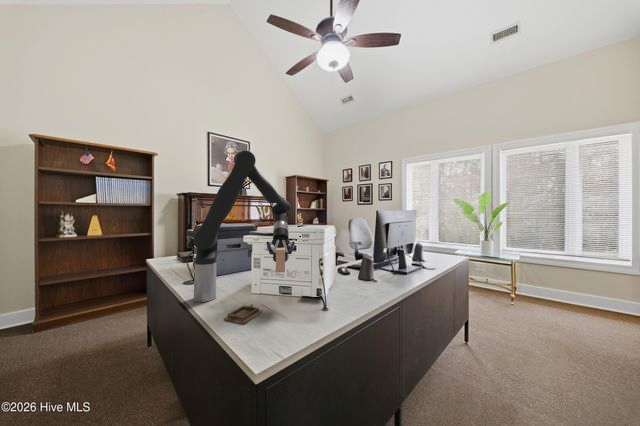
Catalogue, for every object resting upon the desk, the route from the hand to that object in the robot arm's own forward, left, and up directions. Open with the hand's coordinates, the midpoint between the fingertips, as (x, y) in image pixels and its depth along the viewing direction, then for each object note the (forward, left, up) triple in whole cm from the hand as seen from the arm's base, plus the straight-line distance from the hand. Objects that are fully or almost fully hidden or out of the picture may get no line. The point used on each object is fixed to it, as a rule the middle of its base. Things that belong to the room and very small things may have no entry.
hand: (280, 260), depth 108 cm
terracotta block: (0, +1, -5) cm, 5 cm away
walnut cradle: (-16, -7, -20) cm, 27 cm away
